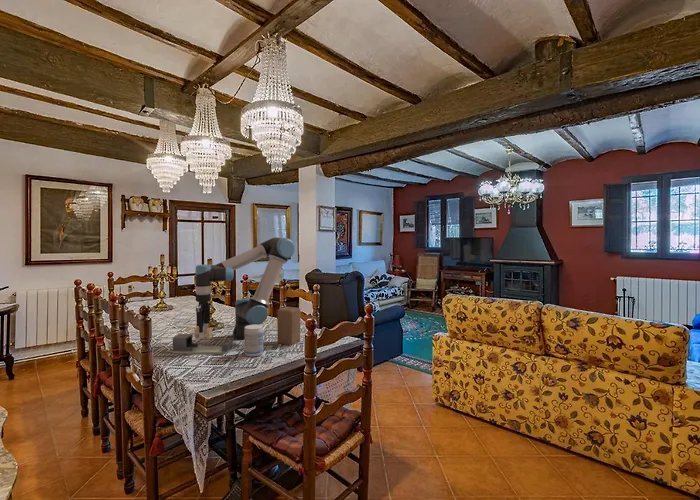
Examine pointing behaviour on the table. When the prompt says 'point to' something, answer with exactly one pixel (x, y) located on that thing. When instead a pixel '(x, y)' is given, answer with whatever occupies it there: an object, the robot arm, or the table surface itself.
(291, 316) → the wooden block
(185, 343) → the cap
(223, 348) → the cap
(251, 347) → the supplement tub
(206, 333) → the brown block
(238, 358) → the table surface
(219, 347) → the board
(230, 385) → the table surface
